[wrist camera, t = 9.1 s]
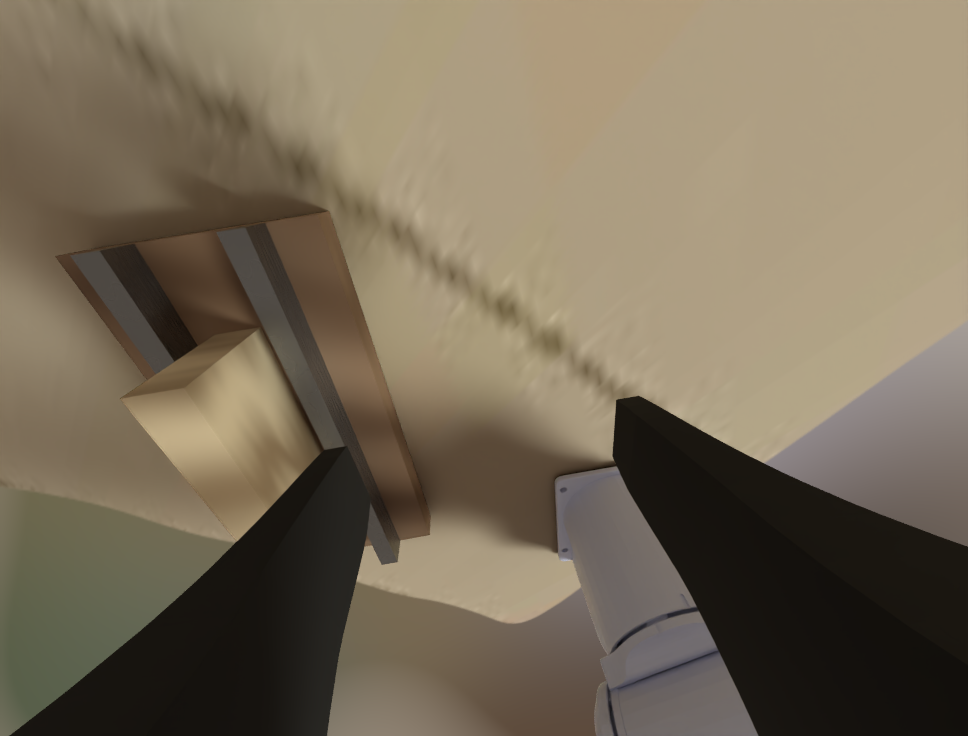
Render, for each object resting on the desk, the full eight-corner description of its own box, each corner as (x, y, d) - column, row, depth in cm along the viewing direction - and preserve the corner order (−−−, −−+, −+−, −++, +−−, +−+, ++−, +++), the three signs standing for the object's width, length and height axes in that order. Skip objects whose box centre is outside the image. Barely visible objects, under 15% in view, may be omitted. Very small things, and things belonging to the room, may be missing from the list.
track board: (430, 515, 24) (428, 556, 22) (291, 540, 24) (272, 584, 21) (329, 211, 14) (302, 218, 12) (91, 249, 14) (10, 264, 12)
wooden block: (339, 483, 20) (309, 569, 16) (305, 489, 20) (265, 576, 15) (260, 327, 15) (184, 387, 11) (214, 334, 15) (119, 398, 11)
